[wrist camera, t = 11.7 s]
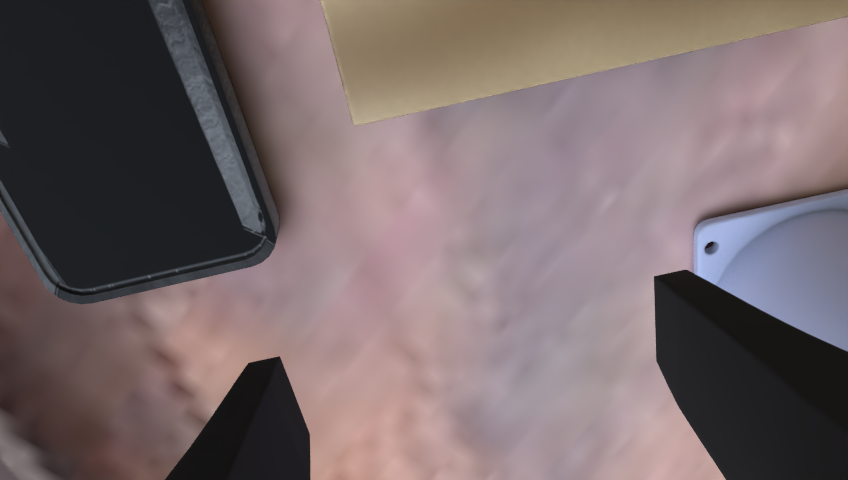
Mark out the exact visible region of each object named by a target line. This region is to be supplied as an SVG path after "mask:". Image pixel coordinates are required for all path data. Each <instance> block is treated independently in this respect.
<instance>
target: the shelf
mask: <svg viewBox="0 0 848 480" xmlns="http://www.w3.org/2000/svg"><path fill="white" fill-rule="evenodd" d="M320 2H321V6H322V9H323V13H324V17H325V21H326V24H327V28H328V32H329V36H330V39H331V43H332V47H333V51H334V54H335V58H336V62H337V66H338V69H339V73H340V77H341V81H342V85H343V88H344V92H345V96H346V100H347V103H348V107H349V111H350V115H351V118H352V122H353V124H354V126H359V125H363V124H368V123H372V122H377V121H381V120H386V119H390V118H395V117H399V116H404V115H408V114H413V113H417V112H422V111H426V110H431V109H435V108H439V107H444V106H448V105H453V104H457V103H462V102H466V101H471V100H475V99H480V98H484V97H489V96H493V95H498V94H502V93H507V92H511V91H516V90H520V89H525V88H529V87H534V86H538V85H543V84H547V83H552V82H556V81H561V80H565V79H570V78H574V77H579V76H583V75H588V74H592V73H597V72H601V71H606V70H610V69H614V68H619V67H623V66H628V65H632V64H637V63H641V62H646V61H650V60H655V59H659V58H664V57H668V56H673V55H677V54H682V53H686V52H691V51H695V50H700V49H704V48H709V47H713V46H718V45H722V44H727V43H731V42H736V41H740V40H745V39H749V38H754V37H758V36H763V35H767V34H772V33H776V32H781V31H785V30H790V29H794V28H798V27H803V26H807V25H812V24H816V23H821V22H825V21H830V20H834V19H839V18H843V17H848V0H320Z"/></svg>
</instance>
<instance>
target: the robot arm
mask: <svg viewBox="0 0 848 480" xmlns="http://www.w3.org/2000/svg"><path fill="white" fill-rule="evenodd" d="M712 241H714V243H713V245H712V246H711V247H710V248H708V249H705V246H706V245H707V244H708V243H710V242H712ZM654 290H655V325H656V359H657V363H658V365H659V367H660V369H661V371H662V374H663V376H664V378H665V380H666V382H667V384H668V386H669V388H670V390H671V392H672V394H673V396H674V398H675V401H676V403H677V405H678V406H679V408H680V410H681V411H682V413H683V414H684V416H685V418H686V419H687V421H688V422H689V424H690V425H691V427H692V428H693V430H694V431H695V433H696V435H697V436H698V438H699V439H700V441H701V442H702V444H703V445H704V447H705V448H706V450H707V451H708V453H709V454H710V456H711V457H712V459H713V460H714V462H715V463H716V465H717V466H718V468H719V470H720V471H721V473H722V474H723V476H724V477H725V479H726V480H848V189H845V190H840V191H836V192H831V193H826V194H822V195H817V196H812V197H808V198H803V199H798V200H794V201H789V202H785V203H780V204H775V205H771V206H766V207H761V208H757V209H752V210H747V211H743V212H738V213H734V214H729V215H724V216H720V217H715V218H710V219H706V220H704V221H702V222H700V223H699V224H698V225H697V226H696V228H695V230H694V273H692V272H690V271H688V270H682V271H677V272H673V273H668V274H663V275H659V276H654ZM165 480H310V434H309V431H308V429H307V426H306V423H305V421H304V418H303V416H302V413H301V410H300V408H299V405H298V403H297V400H296V397H295V395H294V392H293V390H292V387H291V384H290V382H289V379H288V377H287V374H286V371H285V369H284V366H283V364H282V361H281V358H280V356H279V357H275V358H270V359H265V360H260V361H256V362H251V363H248V365H247V366H246V367H245V369H244V370H243V372H242V373H241V375H240V376H239V377H238V379H237V380H236V382H235V383H234V385H233V386H232V388H231V389H230V391H229V392H228V394H227V395H226V397H225V398H224V399H223V401H222V402H221V404H220V405H219V407H218V408H217V410H216V411H215V413H214V414H213V416H212V417H211V419H210V420H209V421H208V423H207V424H206V426H205V427H204V428H203V430H202V431H201V433H200V434H199V436H198V437H197V438H196V440H195V441H194V443H193V444H192V445H191V447H190V448H189V449H188V451H187V452H186V453H185V454H184V456H183V457H182V458H181V460H180V461H179V462H178V464H177V465H176V466H175V467H174V469H173V470H172V471H171V473H170V474H169V475H168V476H167V478H166V479H165Z"/></svg>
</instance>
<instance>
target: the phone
mask: <svg viewBox="0 0 848 480" xmlns="http://www.w3.org/2000/svg"><path fill="white" fill-rule="evenodd" d="M0 211H1V213H2V215H3V216H4V218H5V220H6V222H7V223H8V225H9V227H10V228H11V230H12V232H13V233H14V235H15V237H16V239H17V240H18V242H19V244H20V245H21V247H22V249H23V250H24V252H25V254H26V256H27V257H28V259H29V261H30V262H31V264H32V266H33V267H34V269H35V271H36V273H37V274H38V276H39V278H40V279H41V281H42V283H43V284H44V285H45V286H46V287H47V289H48V290H49V291H50V292H52V293H53V294H54V295H56V296H57V297H58V298H61V299H63V300H66V301H68V302H72V303H78V304H88V303H95V302H100V301H104V300H108V299H113V298H117V297H121V296H126V295H130V294H134V293H139V292H143V291H147V290H152V289H156V288H161V287H165V286H169V285H174V284H178V283H182V282H187V281H191V280H195V279H200V278H204V277H209V276H213V275H217V274H222V273H226V272H230V271H235V270H239V269H243V268H248V267H252V266H254V265H257V264H259V263H262V262H263V261H264V260H265V259H267V258H268V257H269V256H270V254H271V252H272V251H273V249H274V247H275V243H276V239H277V235H278V231H279V226H280V221H279V215H278V211H277V209H276V206H275V203H274V200H273V198H272V195H271V192H270V189H269V187H268V184H267V181H266V178H265V176H264V173H263V170H262V167H261V164H260V162H259V159H258V156H257V153H256V151H255V148H254V145H253V142H252V140H251V137H250V134H249V131H248V129H247V126H246V123H245V120H244V117H243V115H242V112H241V109H240V106H239V104H238V101H237V98H236V95H235V93H234V90H233V87H232V84H231V81H230V79H229V76H228V73H227V70H226V68H225V65H224V62H223V59H222V57H221V54H220V51H219V48H218V46H217V43H216V40H215V37H214V34H213V32H212V29H211V26H210V23H209V21H208V18H207V15H206V12H205V10H204V7H203V4H202V1H201V0H0Z"/></svg>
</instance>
